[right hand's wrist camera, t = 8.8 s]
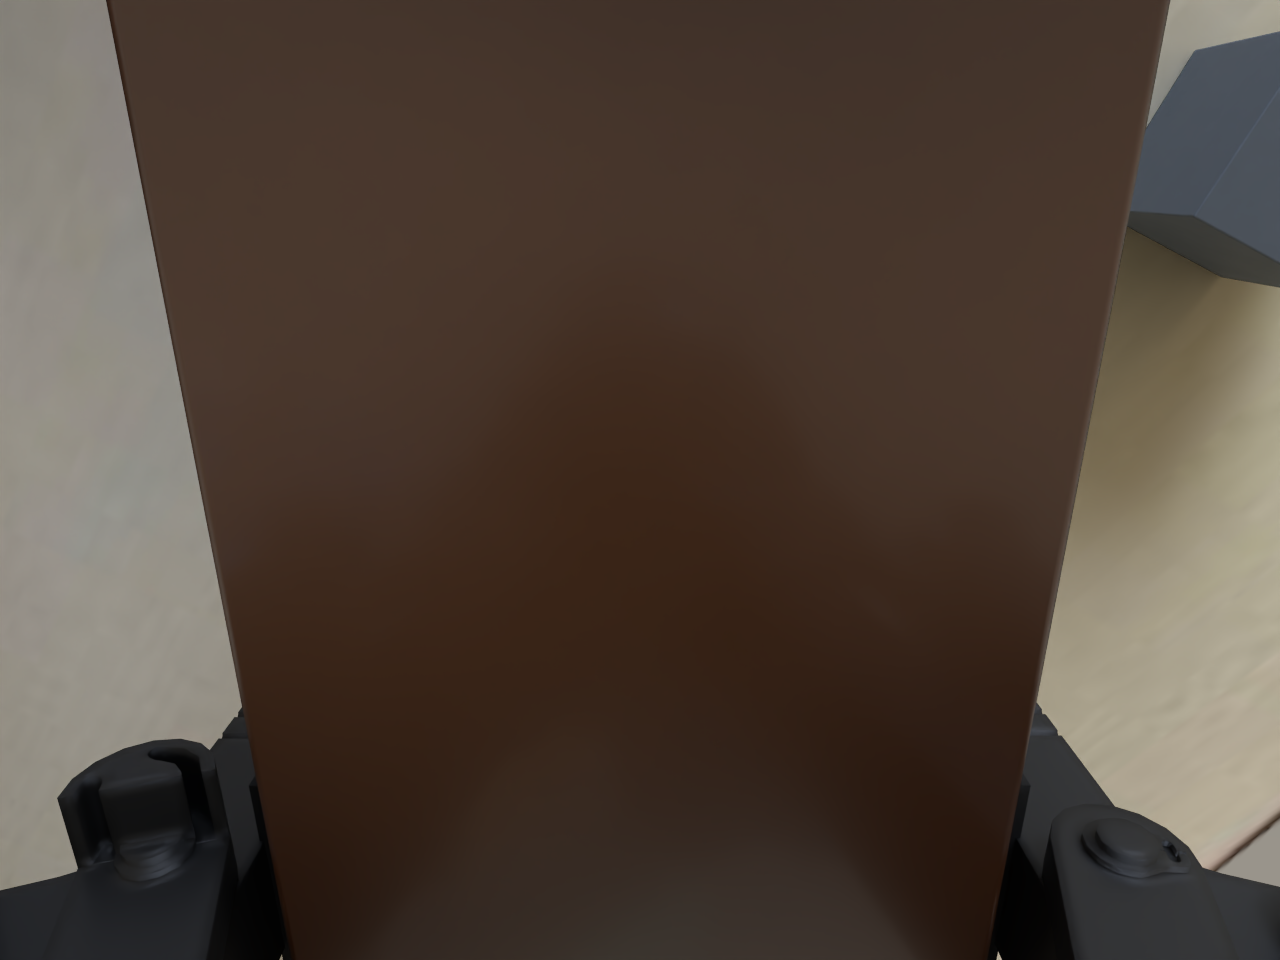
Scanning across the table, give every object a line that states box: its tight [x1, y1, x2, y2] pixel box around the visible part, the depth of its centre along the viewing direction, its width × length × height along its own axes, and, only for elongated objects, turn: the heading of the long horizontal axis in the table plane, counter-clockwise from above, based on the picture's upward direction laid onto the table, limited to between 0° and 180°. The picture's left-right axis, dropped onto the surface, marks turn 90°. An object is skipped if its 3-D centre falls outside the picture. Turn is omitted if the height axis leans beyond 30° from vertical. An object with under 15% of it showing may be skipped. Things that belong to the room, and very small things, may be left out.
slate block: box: [1127, 32, 1280, 287], centre depth 24 cm, size 5×5×5 cm
